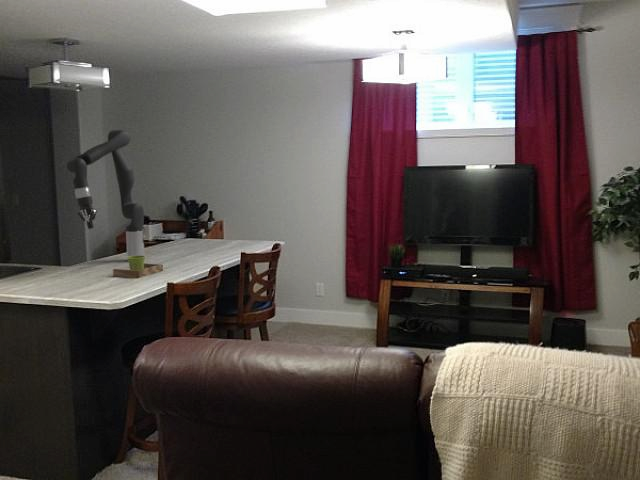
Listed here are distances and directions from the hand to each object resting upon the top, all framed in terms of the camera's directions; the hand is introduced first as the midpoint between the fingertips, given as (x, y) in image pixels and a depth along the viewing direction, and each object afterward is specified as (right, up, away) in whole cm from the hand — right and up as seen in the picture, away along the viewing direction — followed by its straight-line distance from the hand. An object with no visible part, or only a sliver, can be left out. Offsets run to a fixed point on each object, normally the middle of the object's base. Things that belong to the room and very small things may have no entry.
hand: (90, 228), depth 325 cm
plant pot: (+28, -23, -11) cm, 38 cm away
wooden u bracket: (+28, -23, -11) cm, 38 cm away
